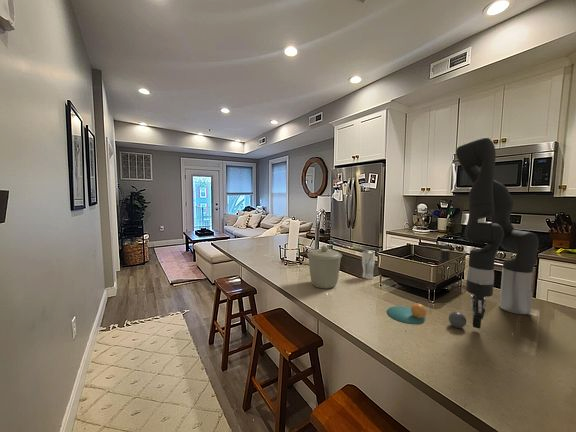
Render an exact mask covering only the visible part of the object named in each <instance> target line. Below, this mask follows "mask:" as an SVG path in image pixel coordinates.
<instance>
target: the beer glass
mask: <svg viewBox="0 0 576 432" xmlns="http://www.w3.org/2000/svg"><path fill="white" fill-rule="evenodd" d="M361 254H362V255H361V265H362V271H363V272H362V275H361V278H362V279H364V280H373V279H374V268H375V262H376V255H375V254H376V253H375V251H373V250H362V253H361Z"/></svg>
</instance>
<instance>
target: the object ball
mask: <svg viewBox="0 0 576 432" xmlns="http://www.w3.org/2000/svg"><path fill="white" fill-rule="evenodd" d="M410 308H411V313H412V315H413V316H414V317H416V318H423V317H425V318H426V315H427V309H426V307H425V306H424V305H423V304H421V303H414V304H412V305H411V307H410Z"/></svg>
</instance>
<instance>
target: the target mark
mask: <svg viewBox="0 0 576 432" xmlns="http://www.w3.org/2000/svg"><path fill="white" fill-rule="evenodd" d="M386 314H387V316H389V317H390V318H392V319H393V320H395V321H397V322H399V323H400V322H401V323H404V324H414V325H417V324H422V323H424V322H425V320H426V316H425V317H423V318H416V317H414V316H413V315H412V313H411V307H407V306H402V305H400V306H398V305H397V306H396V305H394V306H391V307H389V308H387V309H386Z"/></svg>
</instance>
